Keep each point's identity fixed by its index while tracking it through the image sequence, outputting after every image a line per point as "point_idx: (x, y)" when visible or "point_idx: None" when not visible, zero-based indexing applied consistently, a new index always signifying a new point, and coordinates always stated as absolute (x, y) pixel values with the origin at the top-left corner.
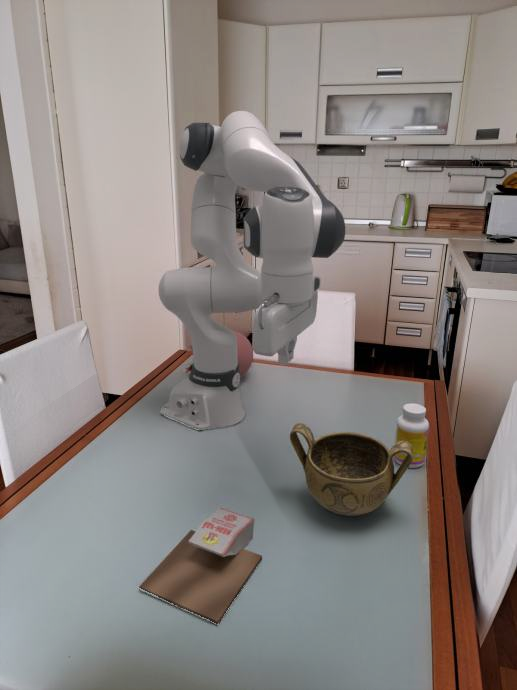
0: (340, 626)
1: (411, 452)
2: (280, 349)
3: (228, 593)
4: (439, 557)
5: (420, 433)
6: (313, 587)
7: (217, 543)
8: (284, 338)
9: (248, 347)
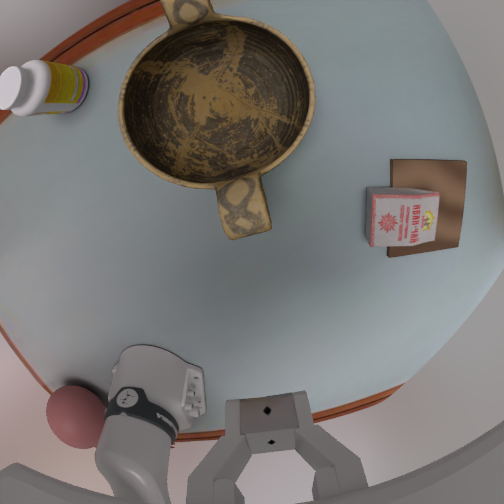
0: (418, 53)
1: None
2: (486, 437)
3: (444, 168)
4: None
5: (46, 62)
6: (395, 88)
7: (430, 209)
8: (470, 494)
9: (54, 410)
